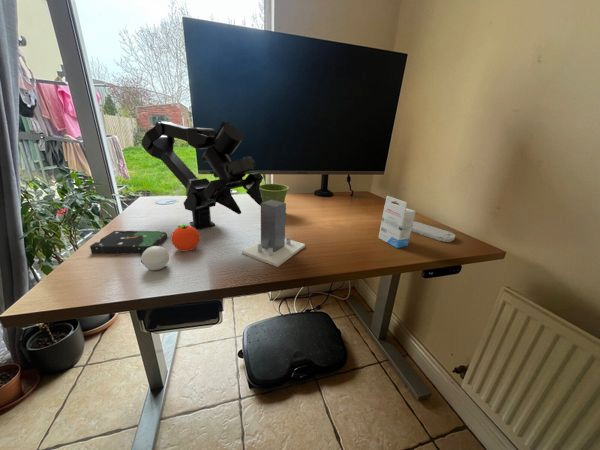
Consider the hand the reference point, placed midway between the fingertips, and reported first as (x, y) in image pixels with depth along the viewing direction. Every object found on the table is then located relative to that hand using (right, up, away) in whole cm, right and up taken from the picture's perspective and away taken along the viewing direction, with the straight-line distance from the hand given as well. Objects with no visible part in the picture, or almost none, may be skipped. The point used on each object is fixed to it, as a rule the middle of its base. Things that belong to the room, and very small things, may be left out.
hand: (251, 209), depth 69 cm
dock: (+7, -12, 0) cm, 13 cm away
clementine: (-18, -11, -2) cm, 21 cm away
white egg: (-20, -15, -13) cm, 28 cm away
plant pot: (+3, 0, +29) cm, 29 cm away
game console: (+60, -8, +19) cm, 63 cm away
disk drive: (-33, -11, -2) cm, 35 cm away
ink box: (+44, -10, +10) cm, 46 cm away
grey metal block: (+6, -11, 0) cm, 12 cm away
